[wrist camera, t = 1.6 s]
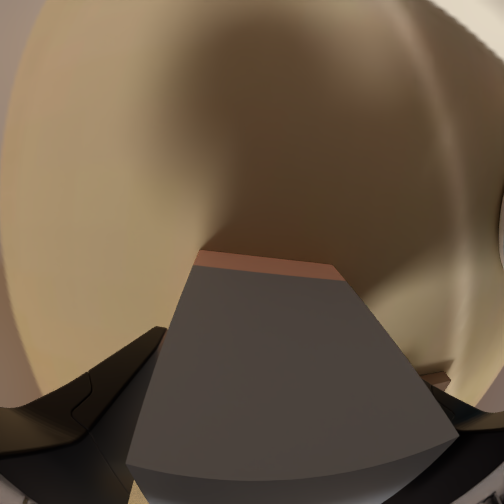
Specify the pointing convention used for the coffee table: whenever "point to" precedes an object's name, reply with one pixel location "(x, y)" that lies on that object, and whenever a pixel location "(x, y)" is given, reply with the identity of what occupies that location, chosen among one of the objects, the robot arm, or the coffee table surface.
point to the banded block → (280, 394)
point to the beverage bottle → (501, 234)
